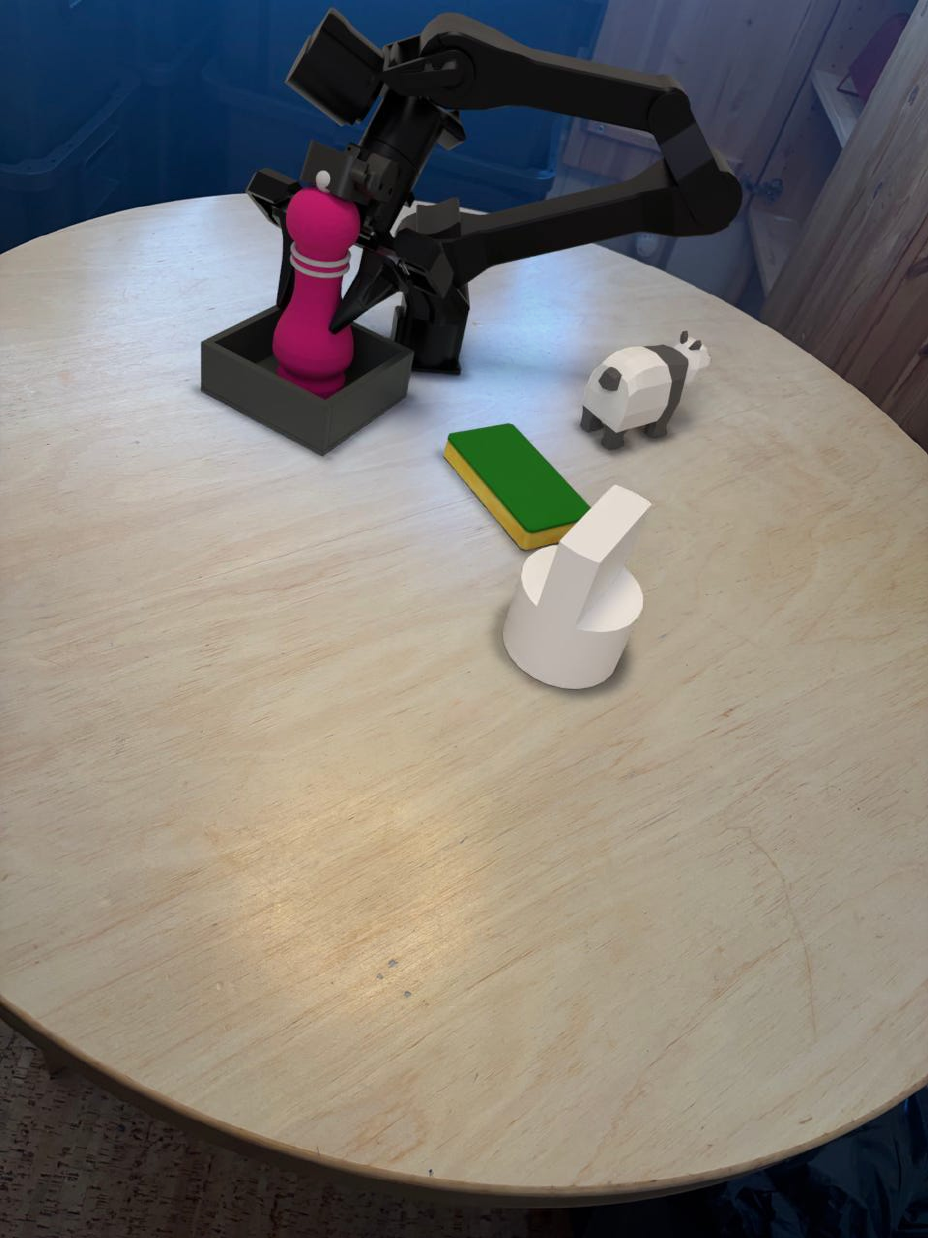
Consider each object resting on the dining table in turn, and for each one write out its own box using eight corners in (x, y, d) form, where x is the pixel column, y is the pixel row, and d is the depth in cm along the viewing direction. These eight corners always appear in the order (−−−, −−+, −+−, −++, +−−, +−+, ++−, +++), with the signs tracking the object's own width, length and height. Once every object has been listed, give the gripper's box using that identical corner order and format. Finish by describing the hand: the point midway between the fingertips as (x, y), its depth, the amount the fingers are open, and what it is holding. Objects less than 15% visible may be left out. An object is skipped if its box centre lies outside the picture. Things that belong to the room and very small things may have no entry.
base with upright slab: (586, 709, 68) (639, 587, 59) (480, 646, 70) (517, 521, 62) (636, 640, 74) (691, 521, 65) (537, 585, 76) (578, 463, 68)
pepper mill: (336, 419, 86) (360, 196, 72) (259, 398, 86) (268, 172, 72) (357, 380, 91) (383, 165, 77) (284, 360, 91) (297, 143, 77)
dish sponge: (506, 442, 90) (512, 421, 88) (589, 535, 82) (598, 513, 80) (441, 454, 86) (446, 432, 84) (522, 552, 79) (529, 530, 77)
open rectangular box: (294, 340, 95) (297, 293, 92) (406, 396, 92) (414, 350, 88) (200, 391, 86) (200, 341, 82) (322, 456, 83) (327, 407, 79)
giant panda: (603, 457, 91) (634, 369, 84) (566, 425, 94) (594, 338, 87) (703, 426, 99) (739, 343, 92) (667, 397, 101) (699, 315, 95)
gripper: (263, 63, 77) (173, 234, 77) (463, 142, 72) (367, 324, 72) (312, 144, 87) (233, 294, 87) (488, 217, 83) (405, 375, 83)
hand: (305, 320), depth 82 cm, fingers open, 5 cm apart
